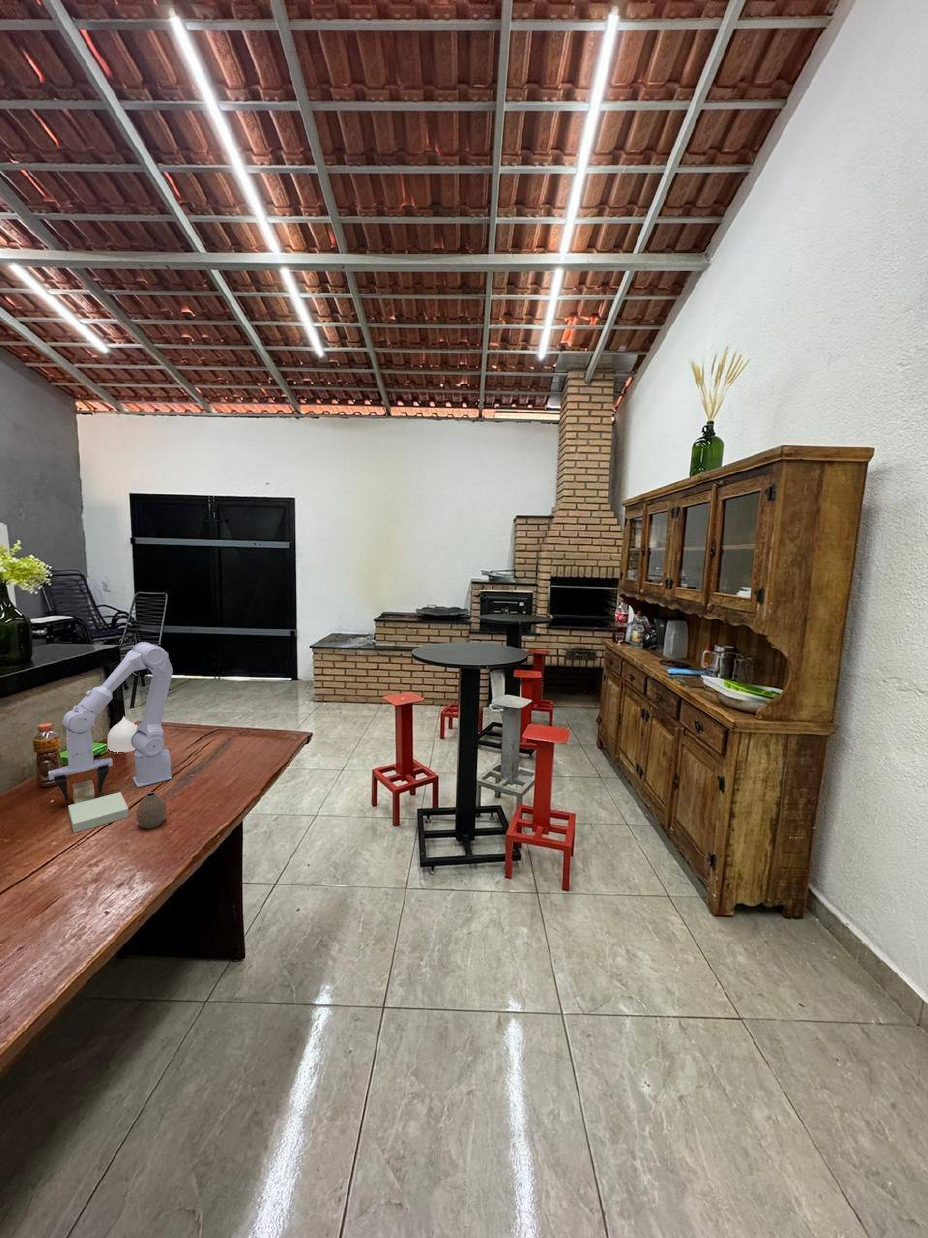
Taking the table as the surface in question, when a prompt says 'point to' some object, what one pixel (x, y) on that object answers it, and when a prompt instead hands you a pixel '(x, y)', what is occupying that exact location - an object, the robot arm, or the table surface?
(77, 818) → the base slab
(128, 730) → the teardrop
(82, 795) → the beech block
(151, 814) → the vase
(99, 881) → the table surface
